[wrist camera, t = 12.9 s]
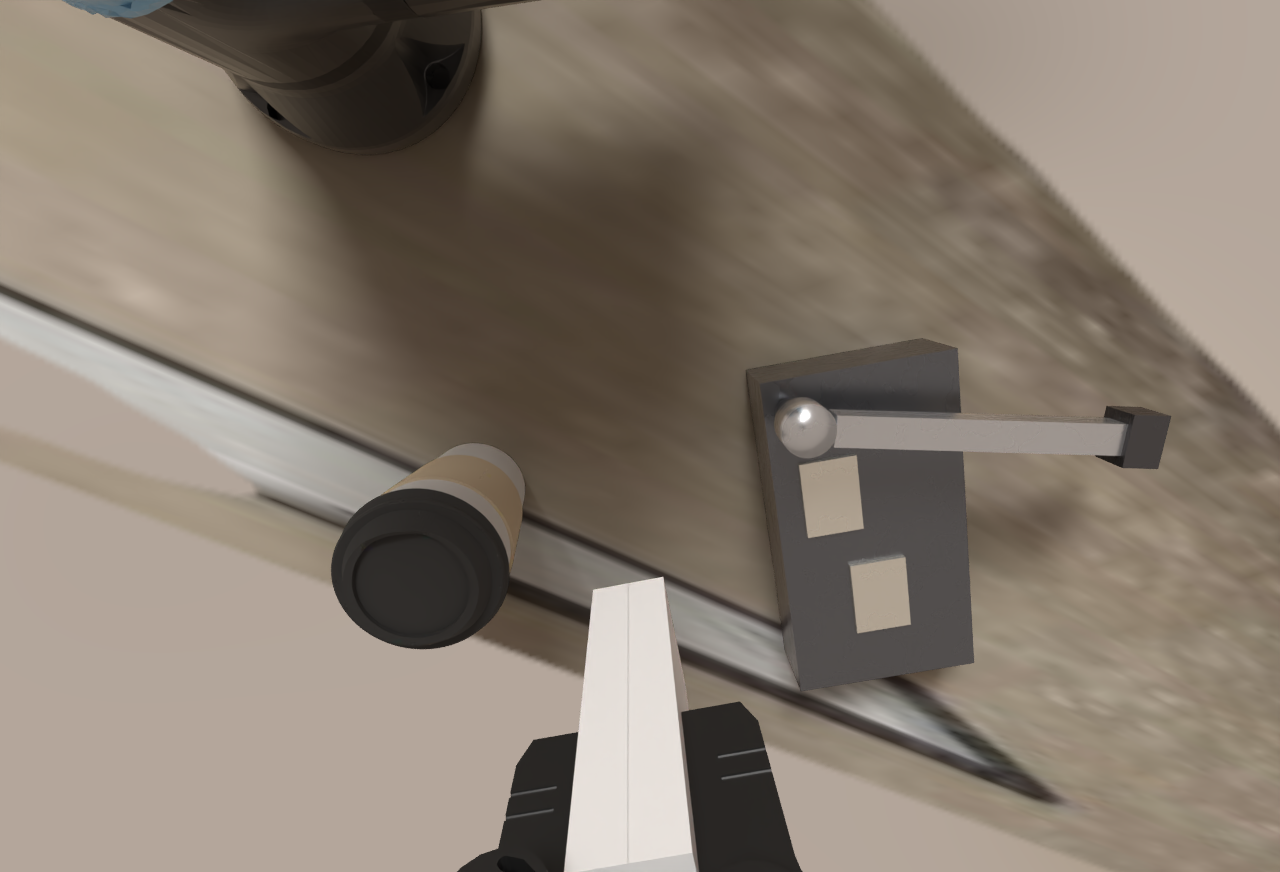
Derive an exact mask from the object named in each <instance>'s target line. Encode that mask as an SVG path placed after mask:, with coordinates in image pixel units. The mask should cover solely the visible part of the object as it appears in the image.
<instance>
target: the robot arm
mask: <svg viewBox="0 0 1280 872" xmlns="http://www.w3.org/2000/svg"><path fill="white" fill-rule="evenodd" d="M62 1H64V2H66V3H68V4H69V5H71V6H74V7H76V8H79V9H81V10H85V11H87V12H89V13H91V14H93V15H94V14H96V13H99V14H101V15H103V16H104V17H106V18H112V19H114V20H116V21H118V22H121V23H123V24H125V25H127V26H130V27H132V28H134V29H136V30H138V31H141V32H143V33H145V34H147V35H150V36H152V37H154V38H156V39H158V40H161V41H163V42H165V43H167V44H170V45H172V46H174V47H176V48H178V49H181V50H183V51H185V52H187V53H190V54H192V55H194V56H196V57H198V58H201V59H203V60H205V61H207V62H210V63H212V64H214V65H216V66H218V67H221V68H223V69H224V71H225V72H226V73H227V74H228V76H229V77H230V78H231V80H232V81H233V82H234V84H235V85H236V86H237V88H238V89H239V90H240V91H241V92H242V93H243V95H244V96H245V97H246V98H247V99H248V100H249V101H250V102H251V103H252V104H253V105H254V106H255V107H256V108H257V109H258V110H259V111H260V112H261V113H263V114H264V115H265V116H266V117H268V118H269V119H270V120H271V121H273V122H274V123H276V124H277V125H279V126H280V127H282V128H283V129H285V130H287V131H288V132H290V133H292V134H294V135H296V136H298V137H300V138H302V139H304V140H307V141H309V142H312V143H315V144H317V145H320V146H323V147H326V148H329V149H332V150H336V151H340V152H344V153H350V154H360V155H372V154H382V153H388V152H393V151H397V150H400V149H403V148H406V147H408V146H410V145H413V144H415V143H417V142H419V141H421V140H422V139H424V138H425V137H427V136H429V135H430V134H431V133H433V132H434V131H435V130H436V129H438V128H439V127H440V126H441V125H442V124H443V123H444V122H445V121H446V120H447V119H448V118H449V117H450V116H451V114H452V113H453V112H454V111H455V109H456V108H457V106H458V105H459V103H460V102H461V100H462V98H463V97H464V95H465V93H466V91H467V89H468V87H469V85H470V82H471V80H472V77H473V75H474V71H475V68H476V65H477V60H478V56H479V50H480V42H481V10H480V9H486V8H493V7H499V6H506V5H512V4H519V3H526V2H532V1H539V0H62ZM457 872H802V871H801V869H800V866H799V864H798V862H797V859H796V857H795V854H794V851H793V847H792V844H791V840H790V836H789V832H788V829H787V825H786V822H785V818H784V814H783V810H782V807H781V803H780V800H779V796H778V792H777V788H776V785H775V781H774V778H773V774H772V771H771V767H770V763H769V759H768V756H767V752H766V749H765V745H764V741H763V737H762V734H761V730H760V726H759V723H758V720H757V719H756V718H755V717H754V716H753V715H752V714H751V713H750V712H749V711H748V710H747V709H746V708H745V707H744V706H743V704H742V703H741V702H735V703H729V704H723V705H718V706H712V707H706V708H701V709H695V710H689V707H688V700H687V692H686V685H685V680H684V675H683V670H682V666H681V661H680V656H679V651H678V646H677V641H676V636H675V631H674V627H673V622H672V617H671V612H670V607H669V602H668V597H667V592H666V588H665V583H664V578H663V577H660V578H654V579H649V580H643V581H638V582H632V583H627V584H622V585H616V586H611V587H605V588H600V589H594V590H593V597H592V606H591V616H590V626H589V635H588V645H587V654H586V664H585V674H584V683H583V694H582V703H581V712H580V723H579V732H576V733H571V734H565V735H559V736H554V737H548V738H542V739H537V740H533V742H532V743H531V745H530V746H529V747H528V749H527V750H526V752H525V753H524V755H523V756H522V758H521V759H520V761H519V762H518V764H517V765H516V770H515V774H514V779H513V783H512V788H511V798H509V802H508V806H507V811H506V821H504V825H503V829H502V834H501V838H500V843H499V848H498V849H496V850H493V851H490V852H487V853H484V854H481V855H479V856H478V857H476V858H475V859H473V860H472V861H470V862H469V863H467V864H466V865H464V866H463V867H461V868H460V870H459V871H457Z"/></svg>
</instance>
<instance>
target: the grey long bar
mask: <svg viewBox="0 0 1280 872" xmlns="http://www.w3.org/2000/svg"><path fill="white" fill-rule="evenodd" d="M1170 419H1171V416H1169V415H1166V414H1162V413H1159V412H1156V411H1152V410H1149V409H1145V408H1142V407H1120V406H1106V411H1105V415H1104V417H1075V416H1042V415H1009V414H976V413H943V412H910V411H877V410H844V409H829V411H828V410H827V409H826V408H824V407H823V406H822V405H820V404H819V403H818V402H816V401H815V400H813V399H811V398H807V397H798V398H793V399H791V400H789V401H787V402H786V403H784V404H783V405H782V406H781V407H780V409H779V410H778V412H777V414H776V416H775V420H774V429H775V432H776V435H777V437H778V438H779V439H780V441H781V442H782V443H783V444H784V446H785V447H786V448H787V449H788V450H789V451H790V452H791V453H792V454H794V455H795V456H798V457H801V458H814V457H818V456H820V455H822V454H824V453H825V452H826V451H828V450H829V449H830V447H831V446H833V447H834V448H865V449H900V450H934V451H968V452H1003V453H1037V454H1072V455H1095V456H1096V457H1098V458H1101V459H1103V460H1105V461H1107V462H1110V463H1112V464H1114V465H1117V466H1119V467H1121V468H1143V469H1158V467H1159V463H1160V459H1161V455H1162V451H1163V447H1164V443H1165V439H1166V435H1167V431H1168V427H1169V423H1170Z"/></svg>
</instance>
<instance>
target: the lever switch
mask: <svg viewBox="0 0 1280 872" xmlns="http://www.w3.org/2000/svg"><path fill="white" fill-rule="evenodd" d="M746 375H747V382H748V389H749V396H750V404H751V411H752V418H753V425H754V432H755V440H756V447H757V454H758V461H759V468H760V476H761V483H762V490H763V497H764V504H765V512H766V519H767V526H768V533H769V541H770V548H771V555H772V562H773V569H774V577H775V584H776V591H777V598H778V605H779V613H780V620H781V627H782V634H783V641H784V649H785V652H786V654H787V657H788V660H789V662H790V665H791V667H792V670H793V672H794V675H795V677H796V680H797V682H798V685H799V688H800V690H801V691H805V690H812V689H818V688H824V687H830V686H836V685H842V684H848V683H854V682H860V681H867V680H873V679H879V678H885V677H891V676H897V675H903V674H909V673H916V672H922V671H928V670H934V669H940V668H946V667H952V666H958V665H964V664H971V663H974V653H973V634H972V615H971V596H970V577H969V558H968V539H967V520H966V501H965V482H964V463H963V451H934V450H900V449H865V448H834V447H833V446H831V447H830V449H829V450H828V451H826V452H825V453H824V454H822V455H820V456H818V457H814V458H801V457H798V456H795V455H794V454H792V453H791V452H790V451H789V450H788V449H787V448H786V447H785V446H784V444H783V443H782V442H781V441H780V439H779V438H778V437H777V435H776V432H775V429H774V420H775V416H776V414H777V412H778V410H779V409H780V407H781V406H782V405H783V404H784V403H786V402H787V401H789V400H791V399H793V398H798V397H807V398H811V399H813V400H815V401H816V402H818V403H819V404H820V405H822V406H823V407H824V408H826V409H827V410H828V411H829V409H844V410H877V411H910V412H943V413H961V406H960V386H959V367H958V348H955V347H951V346H948V345H944V344H941V343H937V342H933V341H930V340H926V339H923V338H921V339H915V340H910V341H904V342H898V343H893V344H887V345H882V346H876V347H871V348H865V349H860V350H854V351H848V352H843V353H837V354H832V355H826V356H821V357H815V358H810V359H804V360H798V361H793V362H787V363H782V364H776V365H771V366H765V367H760V368H754V369H748V370H746Z"/></svg>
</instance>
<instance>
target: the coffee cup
mask: <svg viewBox="0 0 1280 872" xmlns="http://www.w3.org/2000/svg"><path fill="white" fill-rule="evenodd" d="M524 497H525V483H524V478H523V475H522V473H521V471H520V469H519V467H518V466H517V464H516V463H515V462H514V461H513V459H512V458H511V457H509V456H508V455H507V454H506V453H504V452H503V451H501V450H499V449H497V448H495V447H493V446H490V445H486V444H480V443H469V444H463V445H459V446H456V447H454V448H451V449H450V450H448V451H446V452H445V453H443V454H442V455H441V456H439V457H438V458H437V459H435V460H433V461H431V462H429V463H427V464H425V465H424V466H422V467H421V468H419V469H418V470H417V471H415V472H414V473H412V474H411V475H409V476H408V477H406V478H405V479H403V480H402V481H400V482H399V483H397V484H396V485H394V486H393V487H391V488H390V489H388V490H387V491H386V492H384V493H383V494H382V495H381V496H379V497H377V498H375V499H373V500H371V501H370V502H368V503H367V504H365V505H364V506H363V507H362V508H360V509H359V510H358V511H357V512H356V513H355V514H354V515H353V517H352V518H351V519H350V520H349V522H348V523H347V525H346V527H345V528H344V530H343V533H342V535H341V537H340V539H339V540H338V542H337V545H336V547H335V550H334V553H333V557H332V564H331V576H332V583H333V587H334V591H335V593H336V596H337V598H338V600H339V602H340V604H341V606H342V607H343V609H344V610H345V612H346V613H347V614H348V616H349V617H350V618H351V619H352V620H353V621H354V622H355V623H356V624H357V625H358V626H360V628H362V629H363V630H364V631H366V632H368V633H369V634H370V635H372V636H374V637H376V638H378V639H380V640H382V641H384V642H387V643H389V644H393V645H396V646H400V647H405V648H411V649H434V648H440V647H445V646H449V645H452V644H455V643H458V642H460V641H463V640H465V639H467V638H468V637H470V636H472V635H473V634H475V633H476V632H477V631H479V630H480V629H481V628H482V627H484V626H485V625H486V624H487V623H488V622H489V621H490V620H491V619H492V618H493V617H494V616H495V614H496V613H497V612H498V610H499V609H500V607H501V605H502V603H503V601H504V599H505V596H506V593H507V589H508V585H509V574H510V571H511V568H512V564H513V559H514V555H515V550H516V545H517V541H518V536H519V531H520V526H521V522H522V506H523V502H524Z"/></svg>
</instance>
